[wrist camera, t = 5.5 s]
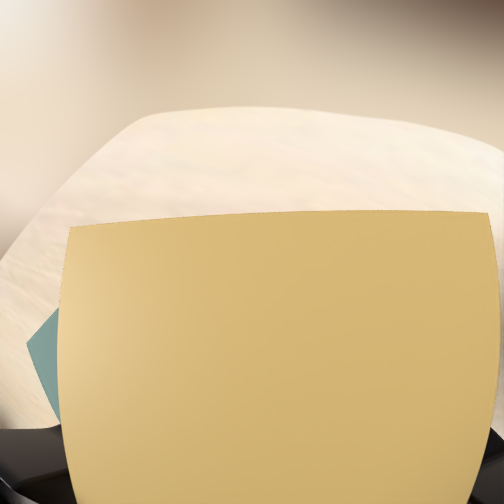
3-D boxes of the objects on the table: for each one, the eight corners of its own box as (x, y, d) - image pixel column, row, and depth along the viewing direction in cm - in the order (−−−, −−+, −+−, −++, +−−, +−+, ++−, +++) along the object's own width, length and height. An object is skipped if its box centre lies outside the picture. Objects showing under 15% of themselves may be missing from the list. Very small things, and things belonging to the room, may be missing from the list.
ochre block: (340, 392, 13) (425, 577, 1) (255, 390, 14) (89, 540, 2) (343, 308, 14) (488, 213, 2) (258, 309, 15) (70, 227, 3)
